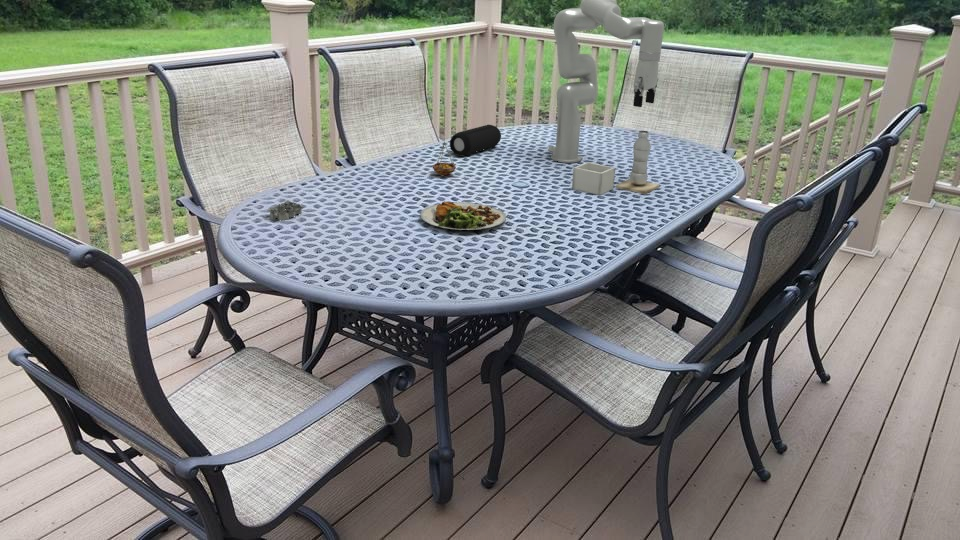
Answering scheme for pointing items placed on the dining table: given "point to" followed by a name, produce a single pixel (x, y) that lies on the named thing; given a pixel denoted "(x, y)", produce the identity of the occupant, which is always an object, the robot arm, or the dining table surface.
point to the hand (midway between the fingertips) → (643, 104)
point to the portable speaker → (475, 140)
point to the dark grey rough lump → (285, 214)
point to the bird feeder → (444, 167)
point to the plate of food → (462, 215)
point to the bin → (593, 178)
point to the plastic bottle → (640, 159)
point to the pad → (637, 187)
